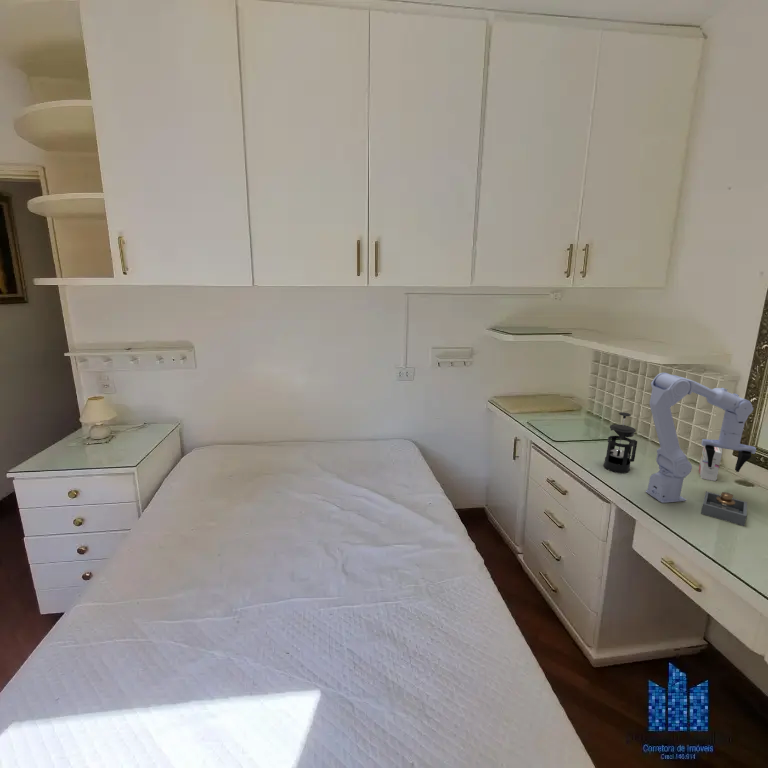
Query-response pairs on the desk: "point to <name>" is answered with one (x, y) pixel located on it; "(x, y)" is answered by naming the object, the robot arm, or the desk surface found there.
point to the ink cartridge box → (712, 471)
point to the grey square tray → (724, 513)
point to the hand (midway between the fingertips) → (722, 468)
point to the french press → (619, 455)
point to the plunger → (725, 501)
